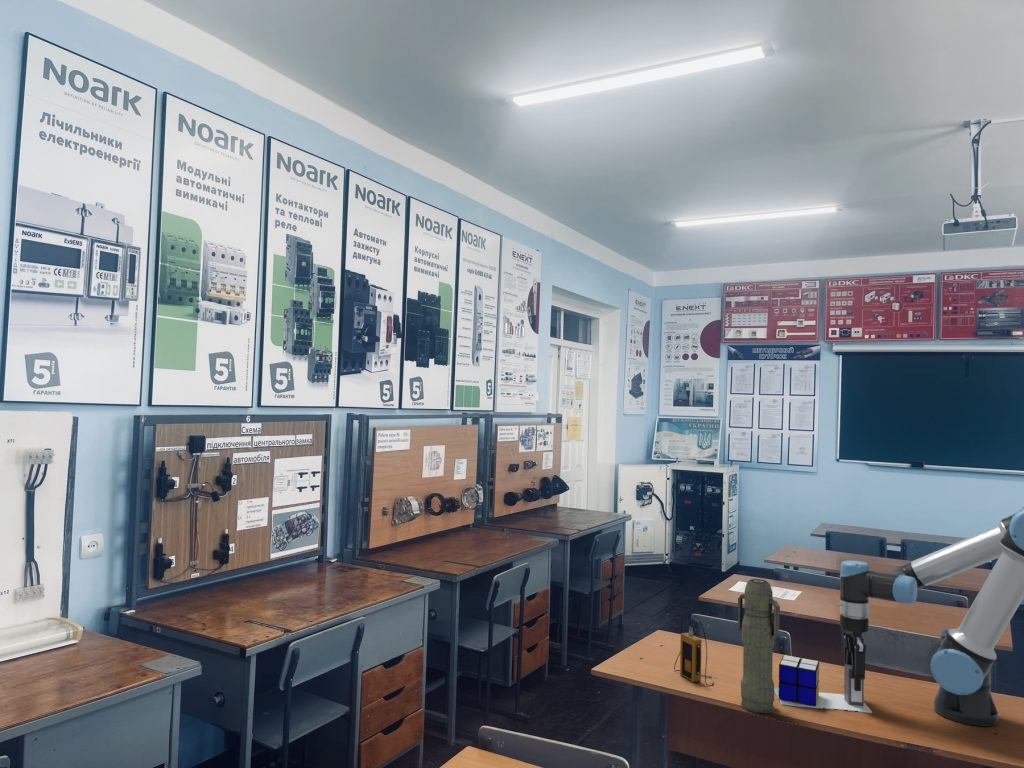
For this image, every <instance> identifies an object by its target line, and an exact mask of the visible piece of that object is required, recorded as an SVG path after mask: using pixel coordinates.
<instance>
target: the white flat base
mask: <svg viewBox="0 0 1024 768" xmlns="http://www.w3.org/2000/svg"><path fill="white" fill-rule="evenodd" d="M843 676H844V685H843V686H844V688H843V689H844V691H843V694H842V693H832V692H820V691H819V696H818V700H817V704H816V706H810V705H805V704H801V703H798V702H791V701H786V700H781V699H779V687H778V688H776V687H774V691H775V692H774V694H775V695H776V697H777V699H778V700H780V701H779V703H780V702H781V703H780V705H781V706H794V707H803V708H813V709H823V708H825V709H824V710H834V709H838V710H837V711H844V710H848V711H847V712H855V711H858V713H868V714H872V713H873V712H872V710H871V708H869V706H868V705H867V704H866V703H865V702H864V701H865V700H864V696H865V695H864V694H865V693H864V683H865V682H864V680H865V679H862V702H853V701H851V678H850V676H852V665H847V664H845V666H844V675H843Z"/></svg>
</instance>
